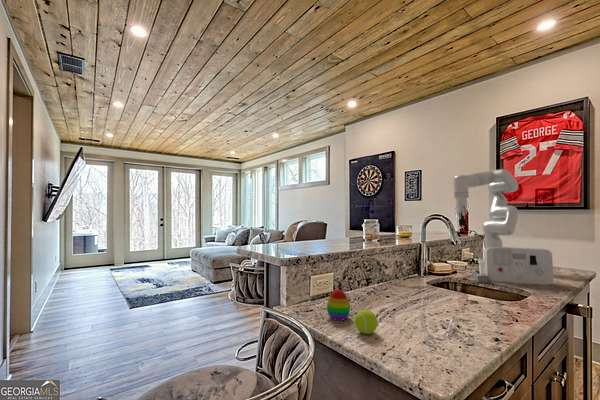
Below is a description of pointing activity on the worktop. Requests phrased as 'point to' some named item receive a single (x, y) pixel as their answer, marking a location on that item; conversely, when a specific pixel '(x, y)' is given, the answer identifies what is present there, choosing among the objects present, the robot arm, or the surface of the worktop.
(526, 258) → the rounded white slab
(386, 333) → the worktop surface
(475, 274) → the breaker block
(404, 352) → the worktop surface
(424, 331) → the worktop surface
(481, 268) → the breaker handle
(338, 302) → the decorative egg
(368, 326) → the tennis ball
